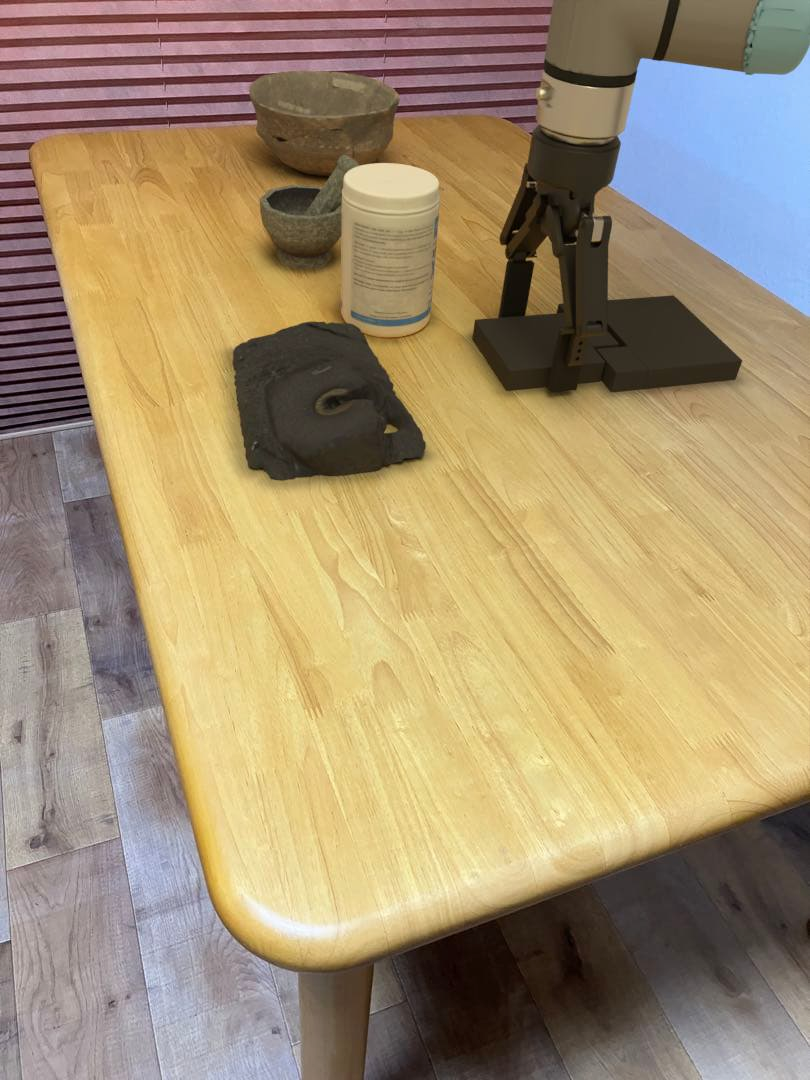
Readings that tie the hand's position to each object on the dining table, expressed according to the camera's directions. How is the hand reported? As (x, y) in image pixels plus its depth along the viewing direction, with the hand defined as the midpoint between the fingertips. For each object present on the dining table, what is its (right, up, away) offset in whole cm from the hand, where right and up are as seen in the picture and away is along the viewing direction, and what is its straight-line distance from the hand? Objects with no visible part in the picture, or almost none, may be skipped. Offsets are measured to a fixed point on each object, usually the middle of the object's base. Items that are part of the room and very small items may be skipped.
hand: (534, 353), depth 88 cm
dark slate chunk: (-21, -7, -8) cm, 23 cm away
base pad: (+12, +1, +4) cm, 12 cm away
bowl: (-25, +35, +38) cm, 57 cm away
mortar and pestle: (-24, +14, +15) cm, 31 cm away
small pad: (+1, -1, +1) cm, 2 cm away
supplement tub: (-15, +5, +5) cm, 17 cm away
